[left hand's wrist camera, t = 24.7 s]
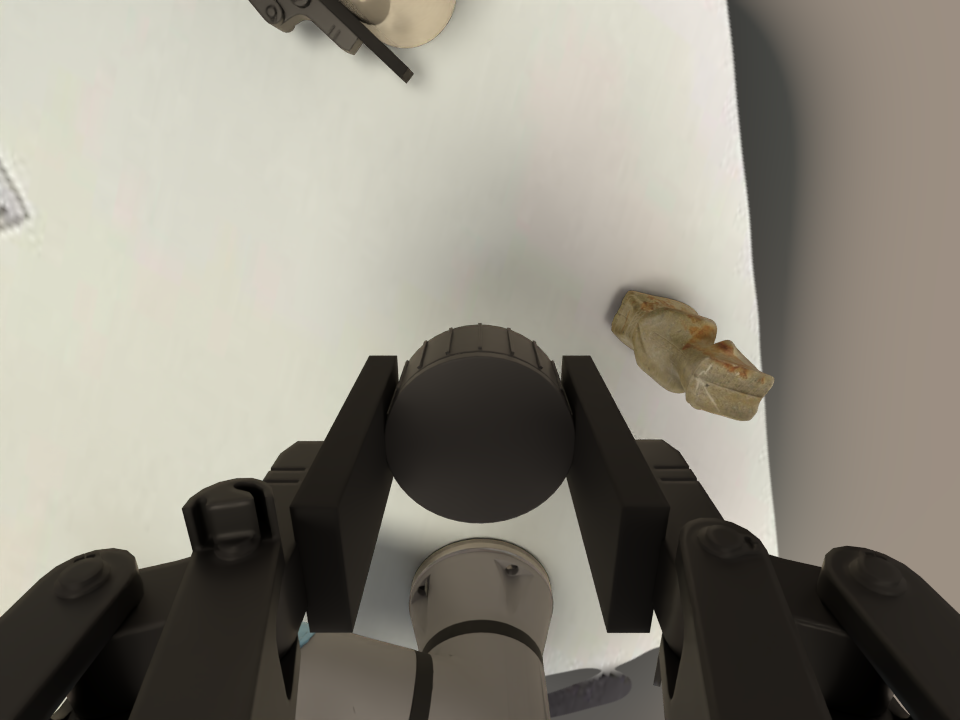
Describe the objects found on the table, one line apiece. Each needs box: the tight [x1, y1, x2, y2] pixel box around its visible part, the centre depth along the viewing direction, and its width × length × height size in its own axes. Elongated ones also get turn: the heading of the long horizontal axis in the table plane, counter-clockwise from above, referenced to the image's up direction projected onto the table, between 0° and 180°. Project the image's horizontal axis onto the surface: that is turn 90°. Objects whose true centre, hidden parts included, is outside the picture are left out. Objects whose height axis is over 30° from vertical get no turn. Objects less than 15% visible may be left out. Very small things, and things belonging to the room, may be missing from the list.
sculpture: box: [611, 291, 774, 421], centre depth 39 cm, size 6×7×15 cm
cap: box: [384, 323, 575, 523], centre depth 14 cm, size 5×5×2 cm
